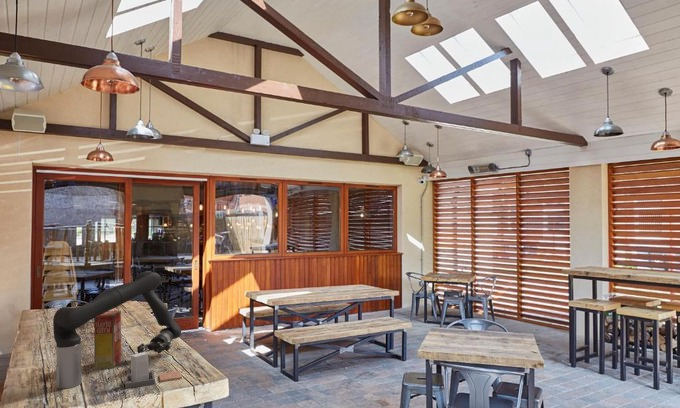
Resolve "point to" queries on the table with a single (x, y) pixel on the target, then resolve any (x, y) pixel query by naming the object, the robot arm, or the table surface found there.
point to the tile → (170, 376)
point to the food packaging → (107, 340)
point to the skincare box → (139, 367)
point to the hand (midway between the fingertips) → (149, 351)
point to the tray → (139, 383)
